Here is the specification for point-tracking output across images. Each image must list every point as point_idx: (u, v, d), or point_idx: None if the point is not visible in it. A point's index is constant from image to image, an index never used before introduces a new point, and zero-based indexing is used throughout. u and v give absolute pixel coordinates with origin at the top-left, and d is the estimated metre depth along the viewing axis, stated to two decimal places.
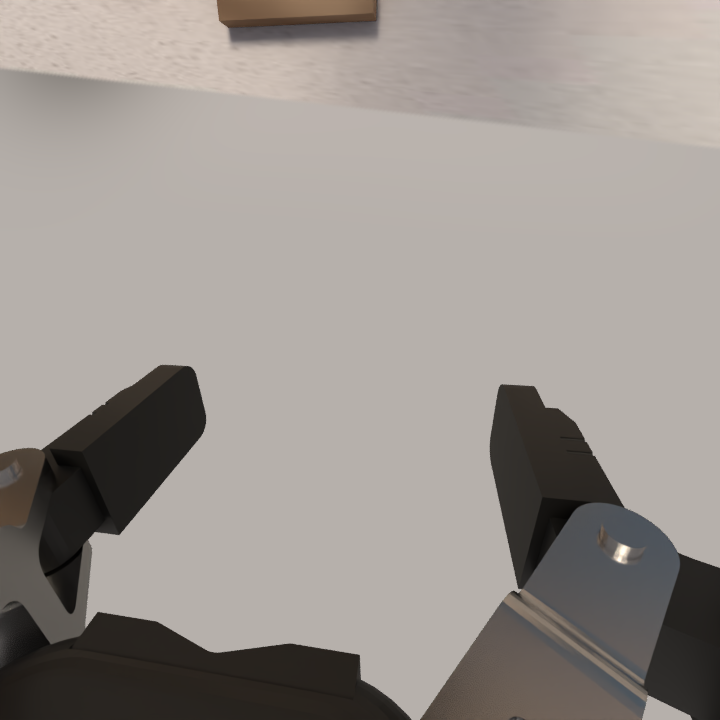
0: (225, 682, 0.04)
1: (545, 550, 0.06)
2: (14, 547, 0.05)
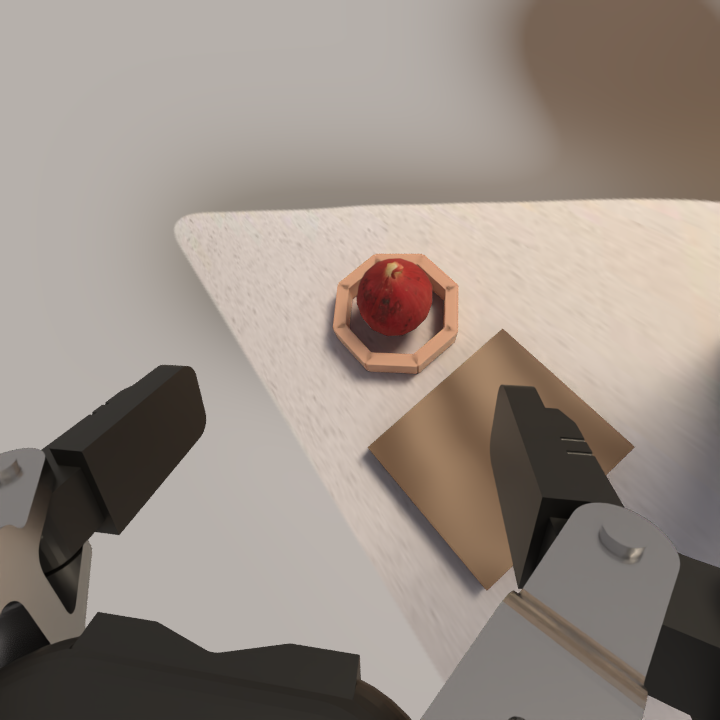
0: (225, 681, 0.04)
1: (545, 550, 0.06)
2: (14, 547, 0.05)
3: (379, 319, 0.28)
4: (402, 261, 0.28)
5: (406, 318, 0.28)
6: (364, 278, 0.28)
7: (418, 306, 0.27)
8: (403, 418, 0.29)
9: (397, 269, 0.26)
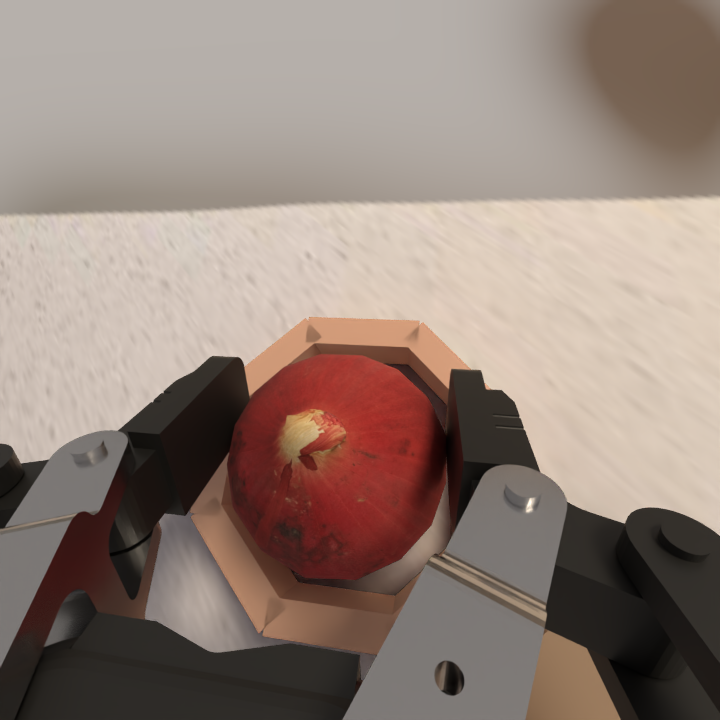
0: (225, 681, 0.04)
1: None
2: (85, 534, 0.05)
3: (280, 561, 0.09)
4: (354, 380, 0.09)
5: (365, 566, 0.09)
6: (238, 425, 0.09)
7: (404, 531, 0.08)
8: None
9: (319, 443, 0.07)
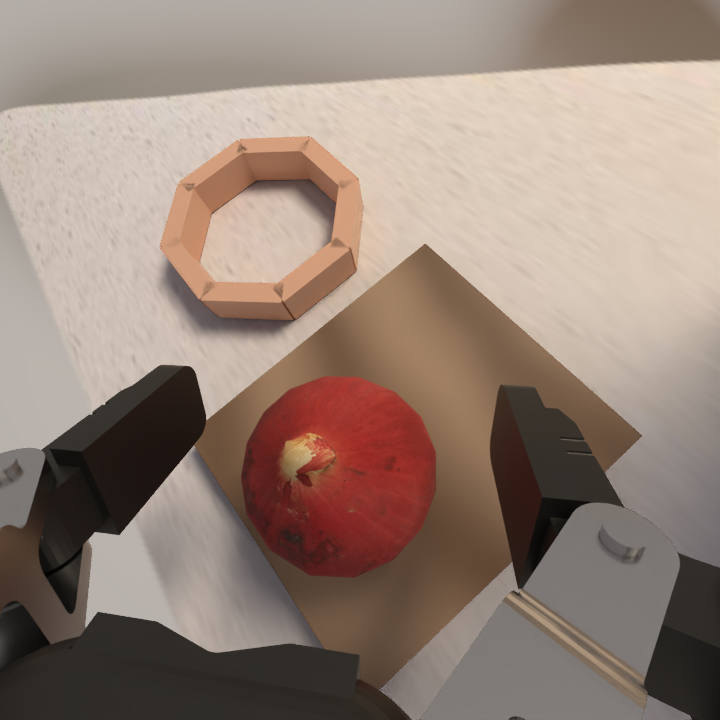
0: (226, 682, 0.04)
1: (545, 550, 0.06)
2: (14, 547, 0.05)
3: (288, 561, 0.10)
4: (347, 404, 0.10)
5: (361, 566, 0.10)
6: (249, 443, 0.10)
7: (393, 536, 0.09)
8: (252, 387, 0.17)
9: (312, 465, 0.08)
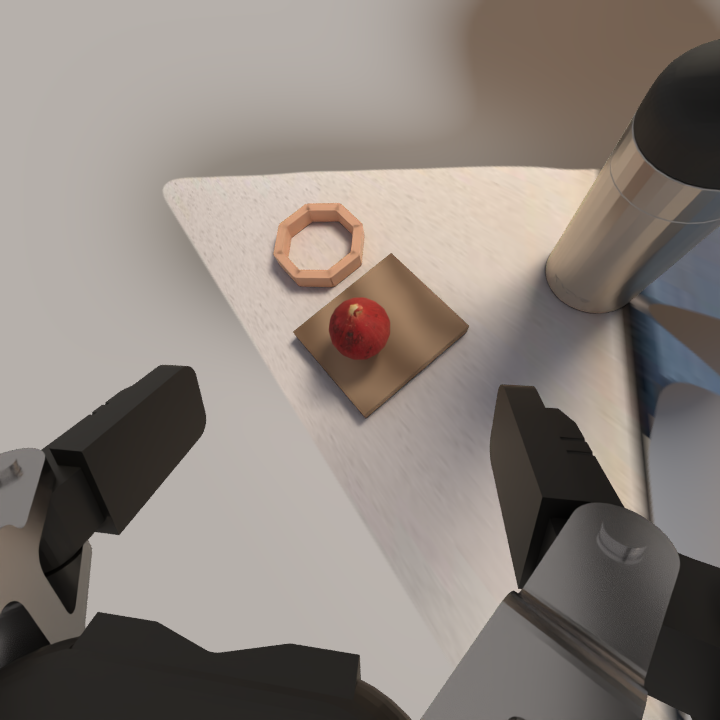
0: (225, 681, 0.04)
1: (545, 550, 0.06)
2: (14, 547, 0.05)
3: (346, 348, 0.34)
4: (363, 301, 0.34)
5: (367, 347, 0.34)
6: (333, 314, 0.35)
7: (377, 337, 0.34)
8: (318, 312, 0.42)
9: (357, 309, 0.32)
